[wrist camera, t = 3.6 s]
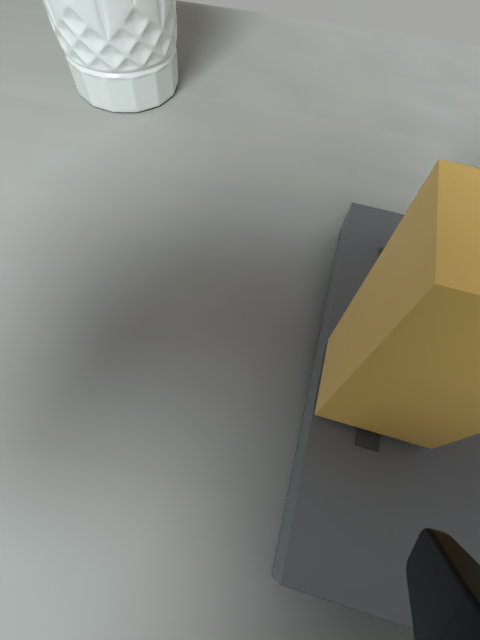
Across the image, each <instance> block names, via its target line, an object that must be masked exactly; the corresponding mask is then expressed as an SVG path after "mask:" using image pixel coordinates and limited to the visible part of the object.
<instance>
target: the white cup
mask: <svg viewBox="0 0 480 640" xmlns="http://www.w3.org/2000/svg"><path fill="white" fill-rule="evenodd" d="M42 2H43V4H44V7H45V10H46V12H47V15H48V17H49V20H50V23H51V25H52V28H53V30H54V32H55V35H56V38H57V40H58V42H59V44H60V46H61V47H62V49H63V51H64V52H65V56H66V59H67V61H68V64H69V67H70V70H71V72H72V75H73V78H74V81H75V83H76V86H77V89H78V92H79V94H80V95H81V96H82V97H83V98H84V99H85V100H87V101H88V102H89V103H90V104H91V105H93V106H94V107H98V108H101V109H104V110H108V111H111V112H140V111H144V110H147V109H151V108H154V107H158V106H160V105H161V104H162V103H164V102H165V101H167V100H168V99H169V98H171V97H172V96H173V95H174V92H175V90H176V87H177V84H178V64H177V48H176V42H177V14H176V0H42Z"/></svg>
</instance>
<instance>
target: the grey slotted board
mask: <svg viewBox="0 0 480 640" xmlns="http://www.w3.org/2000/svg"><path fill="white" fill-rule="evenodd" d="M403 217H404V215H402V214H398V213H394V212H389V211H385V210H381V209H377V208H373V207H369V206H364V205H360V204H356V203H352V204H351V206H350V209H349V211H348V213H347V216H346V218H345V221H344V223H343V225H342V228H341V230H340V234H339V239H338V245H337V250H336V255H335V260H334V265H333V270H332V275H331V280H330V285H329V290H328V295H327V300H326V305H325V310H324V315H323V320H322V325H321V330H320V335H319V340H318V345H317V350H316V355H315V360H314V365H313V370H312V375H311V380H310V385H309V390H308V395H307V400H306V405H305V410H304V415H303V420H302V425H301V430H300V435H299V440H298V445H297V450H296V455H295V460H294V465H293V470H292V475H291V480H290V485H289V490H288V495H287V500H286V505H285V510H284V515H283V520H282V525H281V530H280V535H279V541H278V546H277V551H276V556H275V561H274V566H273V571H272V576H273V577H274V578H275V579H276V580H277V581H278V583H279V584H280V585H283V586H286V587H289V588H292V589H295V590H298V591H301V592H304V593H307V594H310V595H313V596H316V597H319V598H322V599H325V600H328V601H331V602H334V603H337V604H340V605H343V606H346V607H349V608H352V609H355V610H358V611H361V612H364V613H367V614H370V615H373V616H376V617H379V618H382V619H385V620H388V621H391V622H394V623H397V624H400V625H403V626H406V627H408V628H411V629H413V624H412V616H411V608H410V600H409V593H408V585H407V577H406V564H407V560H408V557H409V555H410V553H411V551H412V549H413V547H414V544H415V542H416V540H417V538H418V536H419V534H420V532H421V531H422V530H423V529H424V528H432V529H435V530H438V531H442V532H445V533H447V534H449V535H450V536H451V537H452V538H453V539H454V540H455V541H456V542H457V543H458V544H459V545H460V546H461V547H462V548H463V549H464V550H465V551H466V552H467V553H468V554H469V555H470V556H471V557H472V558H473V559H474V560H475V561H476V562H477V563H478V564H479V565H480V433H479V434H476V435H473V436H470V437H467V438H464V439H461V440H458V441H455V442H452V443H449V444H445V445H442V446H439V447H436V448H433V449H430V448H426V447H423V446H419V445H416V444H413V443H409V442H406V441H402V440H399V439H395V438H392V437H389V436H385V435H382V434H378V433H375V432H372V431H368V430H365V429H361V428H358V427H354V426H351V425H348V424H344V423H341V422H337V421H334V420H331V419H327V418H324V417H320V416H317V415H314V414H315V409H316V403H317V398H318V392H319V387H320V382H321V376H322V371H323V365H324V360H325V355H326V349H327V344H328V339H329V337H330V336H331V334H332V332H333V331H334V329H335V328H336V326H337V324H338V323H339V321H340V319H341V318H342V316H343V315H344V313H345V311H346V310H347V308H348V306H349V305H350V303H351V301H352V300H353V298H354V297H355V295H356V293H357V292H358V290H359V288H360V287H361V285H362V284H363V282H364V280H365V279H366V277H367V275H368V274H369V272H370V271H371V269H372V267H373V266H374V264H375V262H376V261H377V259H378V257H379V256H380V254H381V253H382V251H383V249H384V248H385V246H386V244H387V243H388V241H389V240H390V238H391V236H392V235H393V233H394V231H395V230H396V228H397V226H398V225H399V223H400V222H401V220H402V218H403Z"/></svg>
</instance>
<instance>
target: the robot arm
mask: <svg viewBox="0 0 480 640" xmlns="http://www.w3.org/2000/svg"><path fill="white" fill-rule="evenodd" d="M406 577H407V585H408V593H409V600H410V608H411V616H412V624H413V631H414V639H415V640H480V565H479V564H478V563H477V562H476V561H475V560H474V559H473V558H472V557H471V556H470V555H469V554H468V553H467V552H466V551H465V550H464V549H463V548H462V547H461V546H460V545H459V544H458V543H457V542H456V541H455V540H454V539H453V538H452V537H451V536H450V535H449V534H447V533H445V532H442V531H438V530H435V529H432V528H424V529H423V530H422V531H421V532H420V534H419V536H418V538H417V540H416V542H415V544H414V547H413V549H412V551H411V553H410V555H409V557H408V560H407V564H406Z"/></svg>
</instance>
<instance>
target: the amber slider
mask: <svg viewBox="0 0 480 640" xmlns="http://www.w3.org/2000/svg"><path fill="white" fill-rule="evenodd" d="M314 415H317V416H320V417H324V418H327V419H331V420H334V421H337V422H341V423H344V424H348V425H351V426H354V427H358V428H361V429H365V430H368V431H372V432H375V433H378V434H382V435H385V436H389V437H392V438H395V439H399V440H402V441H406V442H409V443H413V444H416V445H419V446H423V447H426V448H430V449H433V448H436V447H439V446H442V445H445V444H449V443H452V442H455V441H458V440H461V439H464V438H467V437H470V436H473V435H476V434H479V433H480V168H476V167H472V166H468V165H463V164H459V163H454V162H450V161H445V160H441V159H439V160H438V161H437V163H436V165H435V166H434V168H433V169H432V171H431V173H430V174H429V176H428V178H427V179H426V181H425V182H424V184H423V186H422V187H421V189H420V191H419V192H418V194H417V196H416V197H415V199H414V200H413V202H412V204H411V205H410V207H409V209H408V210H407V212H406V213H405V215H404V217H403V218H402V220H401V222H400V223H399V225H398V226H397V228H396V230H395V231H394V233H393V235H392V236H391V238H390V240H389V241H388V243H387V244H386V246H385V248H384V249H383V251H382V253H381V254H380V256H379V257H378V259H377V261H376V262H375V264H374V266H373V267H372V269H371V271H370V272H369V274H368V275H367V277H366V279H365V280H364V282H363V284H362V285H361V287H360V288H359V290H358V292H357V293H356V295H355V297H354V298H353V300H352V301H351V303H350V305H349V306H348V308H347V310H346V311H345V313H344V315H343V316H342V318H341V319H340V321H339V323H338V324H337V326H336V328H335V329H334V331H333V332H332V334H331V336H330V337H329V339H328V344H327V349H326V355H325V360H324V365H323V371H322V376H321V382H320V387H319V392H318V398H317V403H316V409H315V414H314Z"/></svg>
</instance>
